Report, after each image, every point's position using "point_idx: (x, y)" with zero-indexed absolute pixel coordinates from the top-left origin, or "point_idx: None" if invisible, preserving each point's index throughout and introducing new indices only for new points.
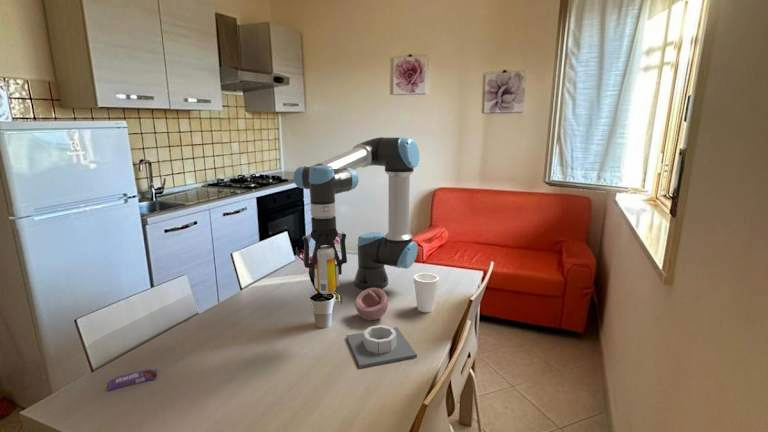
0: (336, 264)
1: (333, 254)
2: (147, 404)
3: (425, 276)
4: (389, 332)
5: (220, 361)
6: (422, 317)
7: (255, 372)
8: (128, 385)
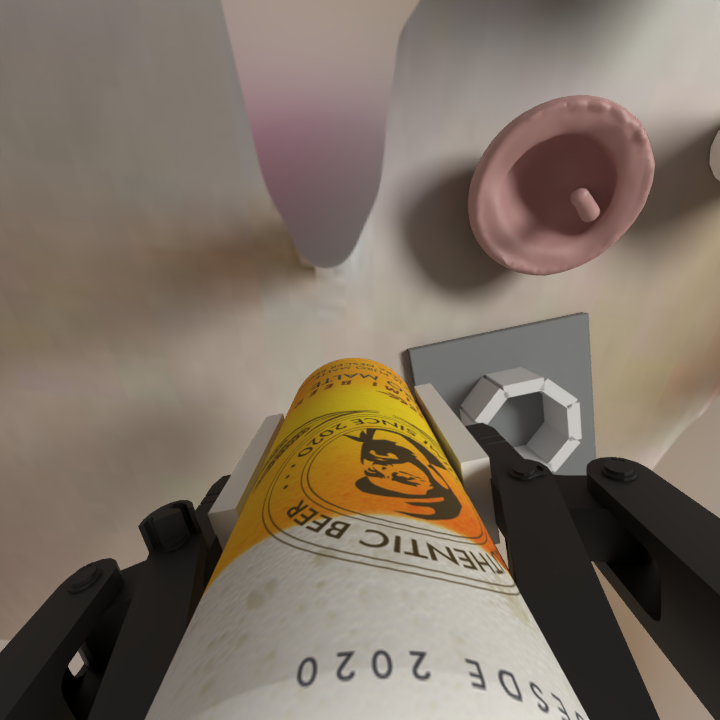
0: (485, 482)
1: None
2: None
3: None
4: (558, 403)
5: (39, 440)
6: (698, 229)
7: (163, 496)
8: None
